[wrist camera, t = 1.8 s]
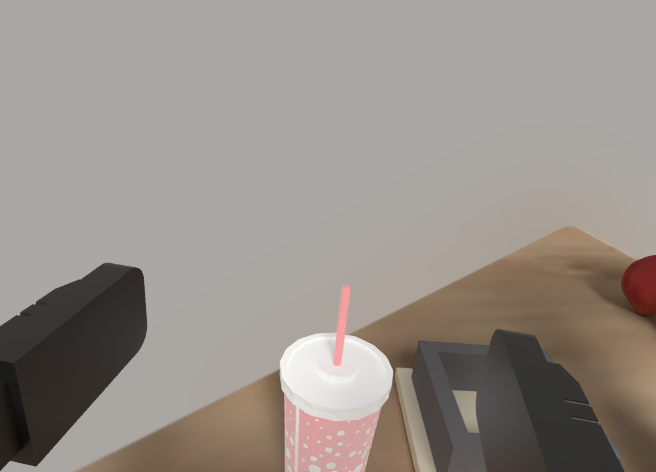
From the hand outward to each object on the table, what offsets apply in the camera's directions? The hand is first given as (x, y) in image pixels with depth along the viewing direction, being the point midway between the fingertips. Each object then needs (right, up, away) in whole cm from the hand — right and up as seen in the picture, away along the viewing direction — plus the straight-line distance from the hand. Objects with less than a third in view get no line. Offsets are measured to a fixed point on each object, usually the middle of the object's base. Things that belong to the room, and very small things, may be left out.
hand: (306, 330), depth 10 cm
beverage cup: (0, -13, +18) cm, 22 cm away
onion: (+36, -7, +41) cm, 54 cm away
